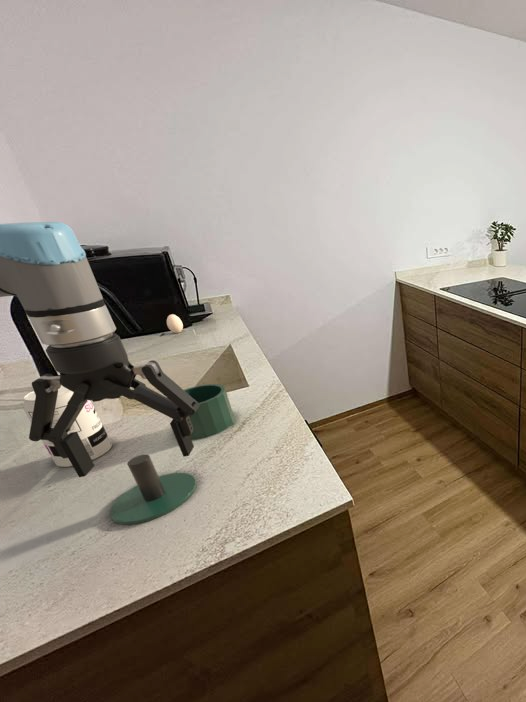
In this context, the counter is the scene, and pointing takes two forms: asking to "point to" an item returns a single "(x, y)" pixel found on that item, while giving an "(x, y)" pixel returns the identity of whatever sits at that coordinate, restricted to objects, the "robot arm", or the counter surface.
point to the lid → (151, 493)
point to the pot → (210, 410)
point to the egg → (174, 323)
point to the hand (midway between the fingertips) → (139, 461)
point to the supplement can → (74, 426)
